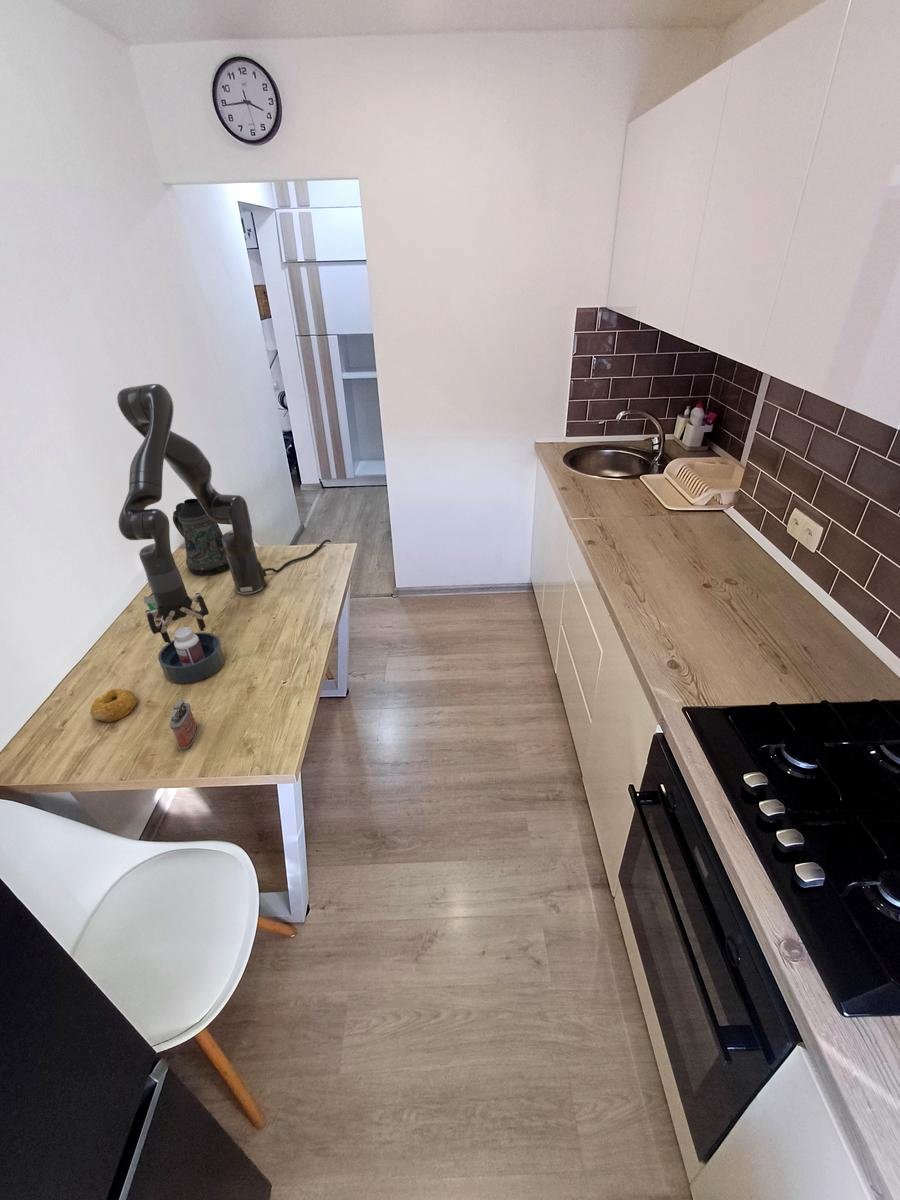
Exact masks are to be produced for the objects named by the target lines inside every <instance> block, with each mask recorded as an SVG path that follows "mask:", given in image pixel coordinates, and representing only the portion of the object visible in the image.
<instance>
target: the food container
mask: <svg viewBox="0 0 900 1200" xmlns="http://www.w3.org/2000/svg"><path fill="white" fill-rule="evenodd" d="M143 602H144V604H146V605H147V607H148V610H150V611H152V610H156V609H157V603H156V601H155V598H154V596H153V593H152V592H151V594H150V595H148V596H143ZM161 618H162V616H161V615H160V614H157V616H156V619H154V621H155V623H160V622H161Z"/></svg>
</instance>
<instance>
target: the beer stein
mask: <svg viewBox="0 0 900 1200" xmlns="http://www.w3.org/2000/svg"><path fill="white" fill-rule="evenodd" d="M172 514H173V515H172V522H173V525H174V526H175V528H176V530H177V532H178V533H179V534H180V535H181V536H182V537H183V539H184V544H185V553H186V554H185V555H186V557H185V558H186V559H185V564H186V567H187V568H188V570H189V572H190V573H191V574H192V575H194V576H199V577H208V576H209V577H210V576H215V575H219V574H222V573H224V572H226V571H228V570H230V567H229V564H228V560H227V557H226V553H225V550H224V546H223V543H222V536H223V535H224V533H223V532H222V530H221V528H220V526H219V524H218V523H215V522H213V521H212V520H211V519H210V518H209V516H208V515H207V514H206V512H205V510H204V509H203V507H202V506H201V504H200V503H199V501H198V500H197V498H186V499H184V501H183V502H179V503H177V504H176V506H175V510H174V511H173V512H172Z"/></svg>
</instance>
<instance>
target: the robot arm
mask: <svg viewBox="0 0 900 1200" xmlns="http://www.w3.org/2000/svg"><path fill="white" fill-rule="evenodd" d="M116 400H117V406H118V408H119V410H120V412H121V414H122V415H123V417H124V418H125V420H126V421H127V423H129V424H130V425H131V426H132V427H133V429H134V430H136V431H137V432H138V433H139V434H140V435H141V436H142V437H143V438H144V439H143V441H142V442H141V444H140V446H139V448H138V449H137V451H136V453H135V454H134V456H133V458H132V460H131V463H130V466H129V477H128V478H129V479H128V493H127V495H126V498H125V500H124V502H123V506H122V508H121V511H120V513H119V517H118V530H119V532H120V534H121V535H122V537H124V539H126V540H129V541H143V540H153V541H154V543H150V544H148V545H146V546H144V547H142V548H141V549H140V551H139V554H138V556H139V559H140V562H141V564H142V567H143V570H144V572H145V575H146V579H147V583H148V586H149V588H150V590H151V594H152V593H153V596H154V598H155V601H156V603H157V609H156V610H152V611H150V609H146V610H145V616H146V619H147V622H148V625H149V628H150V630H151V632H152V634H153V635H156V634H158V633H159V634H160V635H161V637H162V640H163V641H164V642H165V643H167V644H168V643H171V641H172V640H171V638H170V635H169V633H168V627H169V626H170V624H171V622H172V621H177V620H179V619H182V618H185V617H187V616H188V615H189V616H191V618H192V617H193V618H195V620H196V623H197V626H198V628H199V630H200V631H201V632H204V631H205V629H206V623H205V621H204V617H205V616H208V615H209V614H210V611H209V609H208V607H207V604H206V602H205V600H204V597H203V596H202V595H201V593H200V592H196V593H195V595H193V596H191V597H190V596H189V595H188V592H187V589H186V586H185V583H184V580H183V577H182V574H181V572H180V570H179V568H178V566H177V563H176V561H175V558H174V556H173V552H172V548H171V539H170V538H171V537H170V529H171V528H170V520H169V517H168V516H167V514H166V513H165V512H164V511H163V510H161V509H159V508H147V507H149V506H151V505H154V504H157V503H159V502H160V501H161V500H162V497H163V475H164V474H163V472H164V471H163V470H164V462H166V463H167V465H168V466H169V467H170V468H171V469H172V470H173V472H174V473H175V474H176V476H178V478H179V479H180V480H181V481H182V482H183V484H185V485H186V487H187V488H188V489H189V491H190V492H191V493H192V495H193V496H194V498H195V499H197V500H198V501H199V503H200V504H201V506H202V507H203V509H204V510H205V512H206V514H207V515H208V516H209V518H210V519H211V520H212V521H213V522H215V523H218V525H230V526H231V528H232V529H231V530H229V531H227V532H225V533H223V536H222V543H223V546H224V550H225V553H226V557H227V560H228V564H229V567H230V568H229V570H230V571H229V572H230V574H231V577H232V581H233V585H234V589H235V593H236V594H238V595H240V596H249V595H255V594H257V593H259V592H261V591H263V589H265V588H267V583H266V579H265V577H267V572H268V571H273V572H274V573H280V572H281V571H283V570H284V569H285V568H286V567H287V566H288V565H290V564H291V563H294V562H297V561H301V560H304V559H308V558H309V557H311V556H313V555H314V554H315V553H316V552H317V551H318V550H319V549H320V548H322V547H323V546H324V545H325V544H326V543H331V542H332V540H331V539H325V540H323V541H322V542H321V543H320V544H319V545H318V546H319V547H318V546H316V547H315V548H314V549H313V550H312V551H311V552H310V553H308V554H306V555H303V556H300V557H297V558H293V559H290V560H289V561H287V562H285V563H284V564H283V565H282V566H281V567H280V568H278V569H275V568H273V567H267V568H264V567H263V566H262V564H261V562H260V560H259V559H258V554H257V551H256V547H255V543H254V539H253V527H252V523H251V517H250V511H249V507H248V503H247V501H246V499H245V497H243V496H242V495H240V494H226V493H225V494H223V493H219V492H218V491H217V490H216V488H215V487H214V486H213V485H212V483H211V482H212V474H213V473H212V472H213V469H212V465H211V462H210V461H209V460H208V458H207V457H206V455H205V454H204V452H203V451H202V450H201V448H199V447H198V446H197V445H196V444H195V443H194V442H193V441H191V440H189V439H188V438H186V437H184V436H182V435H180V434H178V433H177V432H175V431H173V430H171V428H172V425H173V419H174V411H175V410H174V409H175V408H174V401H173V398H172V395H171V393H170V391H169V390H168V389H167V388H166V387H165V386H164V385H162V384H161V383H148V384H143V385H141V384H140V385H136V386H135V385H134V386H129V387H126V388H123V389H121V390H119V392H118V393H117V395H116ZM193 603H195V604H197V605H199V607H200V610H197V609H195V608H194V607H192V605H193ZM157 614H160V615H161V616H162V618H161V622H159V624H158V625H157V624H156V621H155V619H156V616H157Z"/></svg>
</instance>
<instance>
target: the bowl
mask: <svg viewBox="0 0 900 1200" xmlns="http://www.w3.org/2000/svg"><path fill="white" fill-rule="evenodd" d="M193 634H196V635H197V636H198V638H199V641H200V644H201V646H202V649H203V652H204V655H205V657H206V658H205V659H204V660H202V661H199V662H197V663H194V664H191V665H186V666H182V664H181V661H180V658H179V656H178V653H177V651H176V648H175V645H174V642H175V640H176V639H175V638H174V639H173V640H171V643H168V642H167V644H165V645H164V646H163V647H162V648H161V650H160V651H159V653H158V656H157V660H158V663H159V665H160V668H161V670H162V672H163V675H164V677H165V679H166V680H168V681H169V682H172V683H176V684H191V683H194V682H199V681H201V680H204V679H207V678H209V677H210V676H212V675H213V674H215V673H216V672H218V671H219V670H220V669H221V668H222V667H223V664H225V661H226V654H225V651H224V648H223V644H222V641H221V640H220V638H219V636H217V635H215V634H214V633H211V632H206V631H205V632H204V631H201V632H193Z"/></svg>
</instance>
